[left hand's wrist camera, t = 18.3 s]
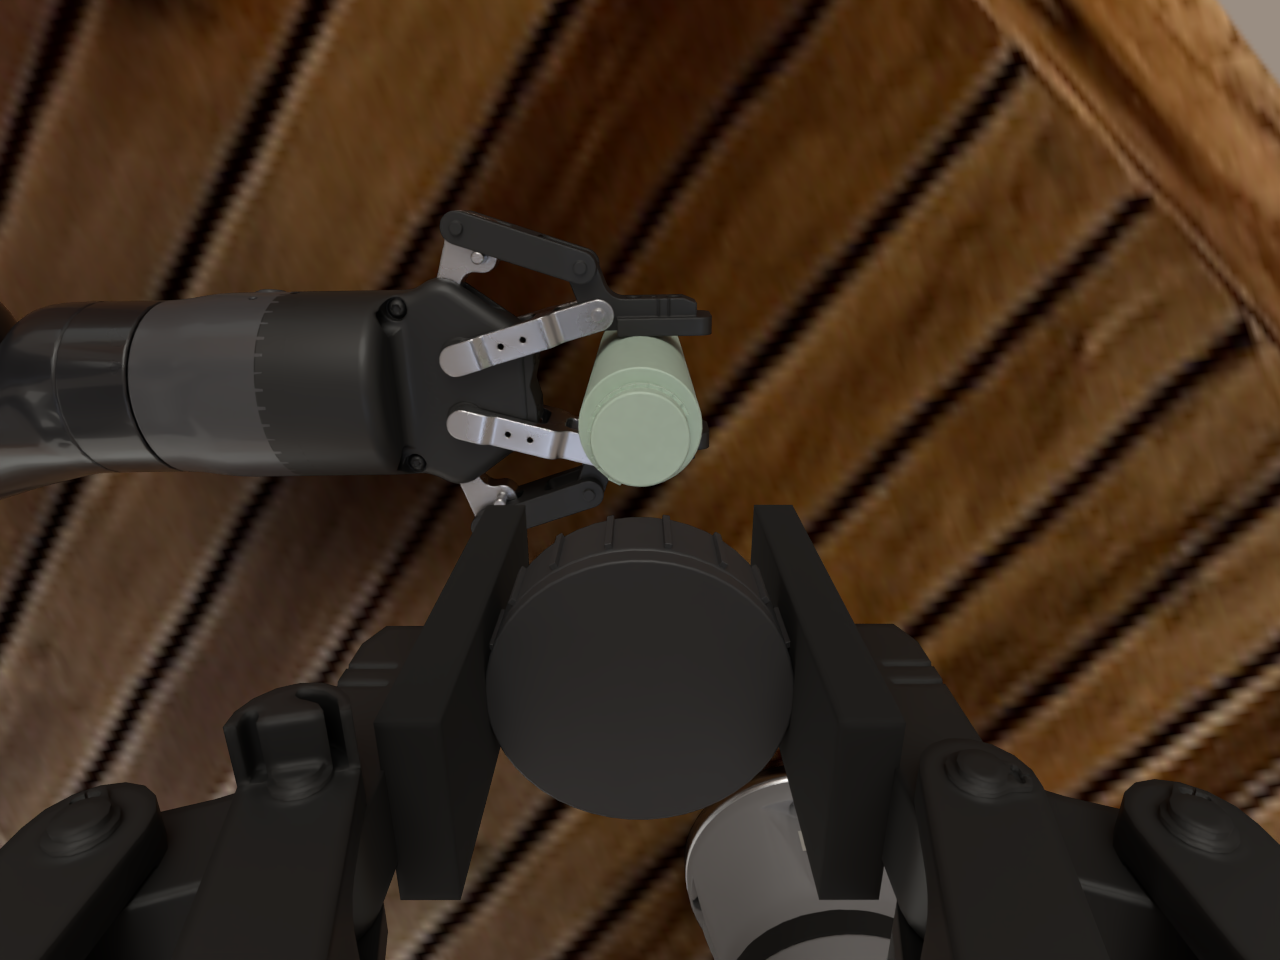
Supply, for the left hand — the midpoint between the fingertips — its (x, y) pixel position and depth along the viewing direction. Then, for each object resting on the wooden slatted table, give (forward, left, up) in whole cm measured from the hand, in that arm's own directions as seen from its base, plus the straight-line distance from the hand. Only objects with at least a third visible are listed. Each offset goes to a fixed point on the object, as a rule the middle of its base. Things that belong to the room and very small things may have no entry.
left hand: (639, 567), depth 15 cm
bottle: (0, 0, -23) cm, 23 cm away
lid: (0, 0, +4) cm, 4 cm away
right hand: (+2, -2, -16) cm, 17 cm away
